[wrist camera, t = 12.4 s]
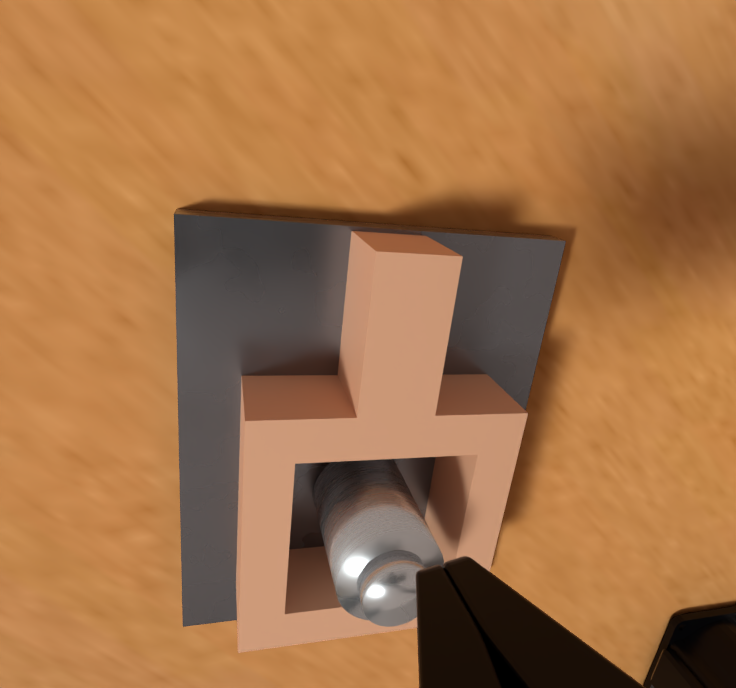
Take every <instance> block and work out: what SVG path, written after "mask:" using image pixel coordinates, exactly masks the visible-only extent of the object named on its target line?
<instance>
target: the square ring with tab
mask: <svg viewBox="0 0 736 688" xmlns="http://www.w3.org/2000/svg"><path fill="white" fill-rule="evenodd" d="M462 259H463V256H461V255H459V254H458V253H456V252H454V251H452V250H450V249H449V248H447V247H445V246H443V245H441V244H440V243H438V242H436V241H434V240H433V239H431V238H429V237H427V236H421V235H407V234H392V233H377V232H363V231H351V241H350V252H349V262H348V272H347V283H346V293H345V303H344V314H343V324H342V334H341V345H340V355H339V365H338V375H284V376H241V414H240V452H239V490H238V528H237V565H236V602H237V635H238V653H240V652H247V651H254V650H261V649H269V648H276V647H283V646H290V645H297V644H304V643H312V642H319V641H326V640H333V639H340V638H347V637H355V636H362V635H369V634H376V633H383V632H390V631H397V630H405V629H412V628H417V618H415V619H413V620H412V621H410V622H408V623H405V624H402V625H398V626H392V627H385V626H379V625H376V624H374V623H372V622H371V621H369V620H364V619H360V618H357V617H355V616H353V615H351V614H349V613H348V612H347V611H346V610H344V608H343V607H342V606H341V604H340V603H339V601H338V598H337V595H336V591H335V587H334V582H333V578H332V574H331V570H330V566H329V562H328V558H327V553H326V549H325V546H322V547H312V548H301V549H290V550H289V544H290V530H291V516H292V502H293V487H294V473H295V464H300V463H320V462H340V461H360V460H380V459H400V458H420V457H436V458H435V464H434V469H433V475H432V480H431V486H430V492H429V497H428V503H427V508H426V514H425V521H426V523H427V525H428V527H429V529H430V531H431V533H432V535H433V537H434V539H435V541H436V543H437V545H438V547H439V549H440V551H441V553H442V555H443V559H444V563H445V562H447V561H450V560H453V559H456V558H459V557H462V556H468V557H470V558H472V559H473V560H475V561H476V562H477V563H479V564H480V565H481V566H483V567H484V568H485V569H487V570H488V571H489V572H490V568H491V564H492V560H493V556H494V552H495V548H496V543H497V539H498V535H499V531H500V527H501V523H502V519H503V515H504V511H505V506H506V502H507V498H508V494H509V490H510V486H511V482H512V478H513V473H514V469H515V465H516V461H517V457H518V453H519V449H520V445H521V440H522V436H523V432H524V428H525V424H526V420H527V416H528V413H527V412H526V411H525V410H524V409H523V408H522V407H521V406H520V405H519V404H518V403H517V402H516V401H515V400H514V399H513V398H512V397H511V396H510V395H508V394H507V393H506V392H505V391H504V390H503V389H502V388H501V387H500V386H499V385H498V384H497V383H496V382H495V381H494V380H493V379H492V378H491V377H490V376H488V375H487V374H460V375H442V374H443V368H444V363H445V357H446V351H447V345H448V340H449V334H450V328H451V322H452V316H453V311H454V305H455V299H456V293H457V288H458V282H459V276H460V270H461V264H462Z"/></svg>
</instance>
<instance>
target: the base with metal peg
mask: <svg viewBox="0 0 736 688" xmlns="http://www.w3.org/2000/svg"><path fill="white" fill-rule="evenodd" d="M351 231H363V232H377V233H392V234H407V235H421V236H427V237H429V238H431V239H433V240H434V241H436V242H438V243H440V244H441V245H443V246H445V247H447V248H449V249H450V250H452V251H454V252H456V253H458V254H459V255H461V256H463V259H462V264H461V270H460V276H459V282H458V288H457V293H456V299H455V305H454V311H453V316H452V322H451V328H450V334H449V340H448V345H447V351H446V357H445V363H444V368H443V374H442V375H460V374H487V375H488V376H490V377H491V378H492V379H493V380H494V381H495V382H496V383H497V384H498V385H499V386H500V387H501V388H502V389H503V390H504V391H505V392H506V393H507V394H508V395H510V396H511V397H512V398H513V399H514V400H515V401H516V402H517V403H518V404H519V405H520V406H521V407H522V408H523V409H524V410H526V406H527V402H528V397H529V393H530V389H531V385H532V381H533V377H534V372H535V368H536V364H537V360H538V356H539V351H540V347H541V343H542V339H543V335H544V331H545V326H546V322H547V318H548V314H549V310H550V305H551V301H552V297H553V293H554V289H555V285H556V280H557V276H558V272H559V268H560V264H561V259H562V255H563V251H564V247H565V243H566V241H564V240H561V239H558V238H556V237H553V236H548V235H534V234H520V233H506V232H492V231H478V230H464V229H451V228H437V227H423V226H409V225H395V224H381V223H367V222H353V221H339V220H326V219H312V218H298V217H284V216H270V215H256V214H242V213H228V212H215V211H201V210H187V209H176V211H175V213H174V236H175V283H176V329H177V376H178V422H179V469H180V515H181V562H182V608H183V627H184V626H192V625H200V624H208V623H216V622H224V621H232V620H237V602H236V565H237V528H238V490H239V452H240V414H241V376H284V375H338V365H339V355H340V345H341V334H342V324H343V314H344V303H345V293H346V283H347V272H348V262H349V252H350V241H351ZM435 458H436V457H420V458H400V459H380V460H360V461H340V462H320V463H300V464H295V473H294V487H293V502H292V516H291V530H290V544H289V550H290V549H301V548H312V547H322V546H325V549H326V553H327V558H328V562H329V566H330V570H331V574H332V578H333V582H334V587H335V591H336V595H337V598H338V601H339V603H340V604H341V606H342V607H343V608H344V610H346V611H347V612H348V613H349V614H351V615H353V616H355V617H357V618H360V619H364V620H369V621H371V622H372V623H374V624H376V625H379V626H385V627H392V626H398V625H402V624H405V623H408V622H410V621H412V620H413V619H415V618H417V605H416V573H417V571H419V570H422V569H425V568H428V567H431V566H434V565H441V566H443V564H444V559H443V555H442V553H441V551H440V549H439V547H438V545H437V543H436V541H435V539H434V537H433V535H432V533H431V531H430V529H429V527H428V525H427V523H426V521H425V514H426V508H427V503H428V497H429V492H430V486H431V480H432V475H433V469H434V464H435Z"/></svg>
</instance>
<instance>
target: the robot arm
mask: <svg viewBox="0 0 736 688" xmlns="http://www.w3.org/2000/svg"><path fill="white" fill-rule="evenodd" d="M416 605H417V635H418V664H419V688H736V606H734V607H727V608H721V609H714V610H708V611H702V612H695V613H689V614H682V615H678V616H676V617H674V618H673V619H672V620H671V621H670V623H669V626H668V628H667V630H666V633H665V635H664V638H663V640H662V643H661V645H660V647H659V650H658V652H657V655H656V657H655V660H654V662H653V664H652V667H651V669H650V672H649V674H648V676H647V679H646V681H645V684H644V686H642V685H641V684H640V683H638V682H637V681H636V680H634V679H633V678H632V677H630V676H629V675H628V674H626V673H625V672H624V671H622V670H621V669H620V668H618V667H617V666H616V665H614V664H613V663H612V662H610V661H609V660H608V659H606V658H605V657H603V656H602V655H601V654H599V653H598V652H597V651H595V650H594V649H593V648H591V647H590V646H589V645H587V644H586V643H585V642H583V641H582V640H581V639H579V638H578V637H577V636H575V635H574V634H573V633H571V632H570V631H569V630H567V629H566V628H565V627H563V626H562V625H561V624H559V623H558V622H556V621H555V620H554V619H552V618H551V617H550V616H548V615H547V614H546V613H544V612H543V611H542V610H540V609H539V608H538V607H536V606H535V605H534V604H532V603H531V602H530V601H528V600H527V599H526V598H524V597H523V596H522V595H520V594H519V593H518V592H516V591H515V590H514V589H512V588H511V587H510V586H508V585H507V584H505V583H504V582H503V581H501V580H500V579H499V578H497V577H496V576H495V575H493V574H492V573H491V572H489V571H488V570H487V569H485V568H484V567H483V566H481V565H480V564H479V563H477V562H476V561H475V560H473V559H472V558H470V557H468V556H462V557H459V558H456V559H453V560H450V561H447V562H445V563H444V564H443V566H441V565H434V566H431V567H428V568H425V569H422V570H419V571H417V573H416Z"/></svg>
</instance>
